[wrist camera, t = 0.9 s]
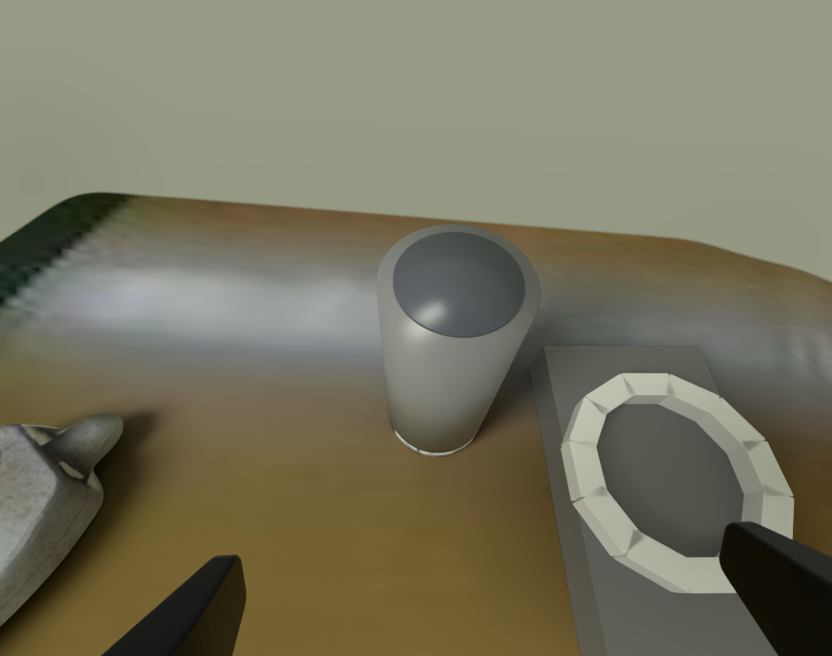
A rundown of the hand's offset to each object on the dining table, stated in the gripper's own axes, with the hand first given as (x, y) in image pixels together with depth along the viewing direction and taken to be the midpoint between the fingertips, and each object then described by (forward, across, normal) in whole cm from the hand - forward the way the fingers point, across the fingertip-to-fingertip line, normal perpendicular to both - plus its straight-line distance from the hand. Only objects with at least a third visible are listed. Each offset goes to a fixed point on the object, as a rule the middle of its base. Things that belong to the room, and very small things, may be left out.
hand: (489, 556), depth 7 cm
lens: (+16, -1, +5) cm, 16 cm away
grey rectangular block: (+12, -11, +8) cm, 18 cm away
